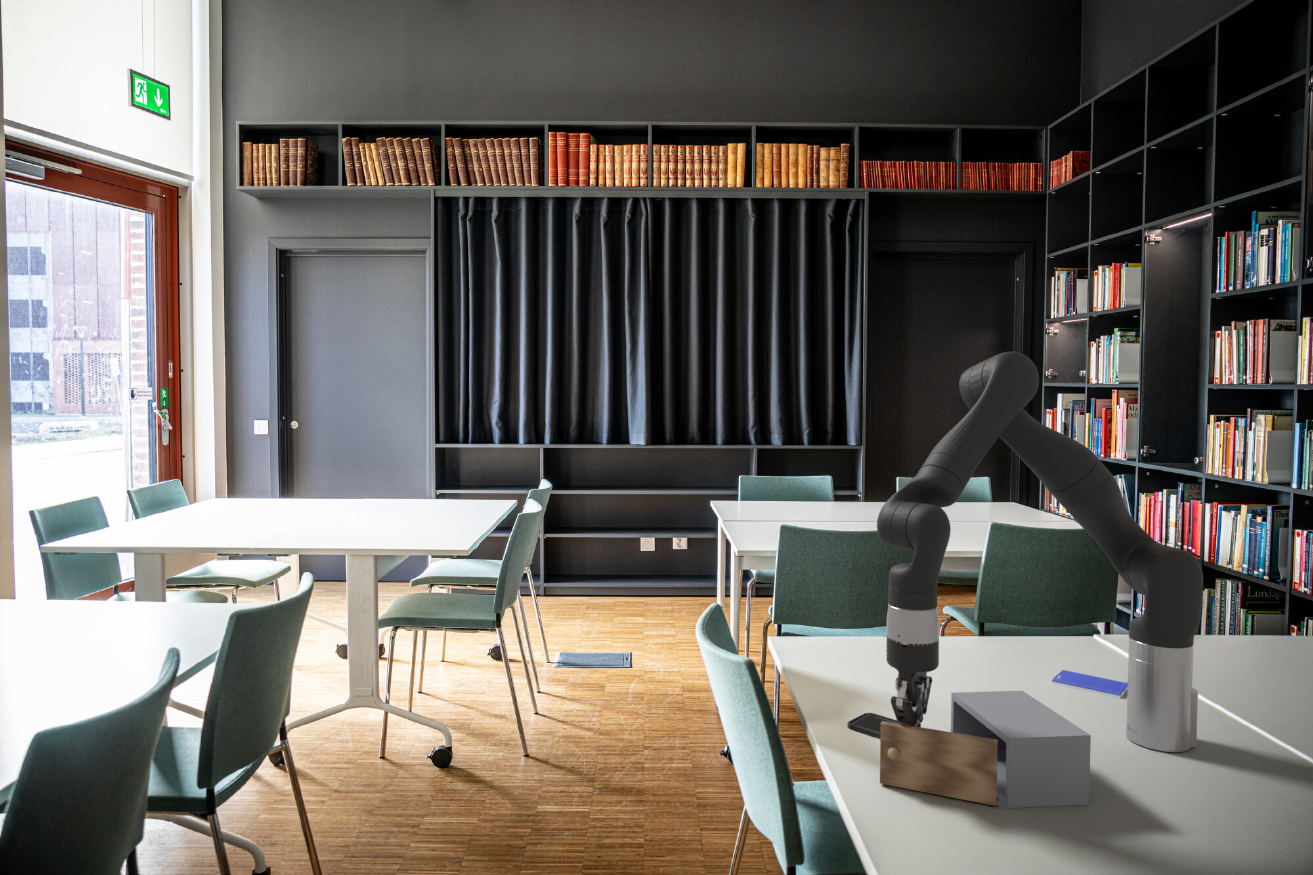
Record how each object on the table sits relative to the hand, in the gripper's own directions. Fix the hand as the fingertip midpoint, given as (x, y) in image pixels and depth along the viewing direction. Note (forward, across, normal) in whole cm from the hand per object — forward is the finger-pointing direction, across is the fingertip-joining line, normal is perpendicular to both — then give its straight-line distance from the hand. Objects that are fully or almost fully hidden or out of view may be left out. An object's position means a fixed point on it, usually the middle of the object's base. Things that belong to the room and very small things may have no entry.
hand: (911, 746), depth 122 cm
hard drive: (+7, -62, +17) cm, 64 cm away
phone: (+6, -15, -8) cm, 18 cm away
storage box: (+5, -9, +13) cm, 17 cm away
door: (+5, +4, +5) cm, 7 cm away
